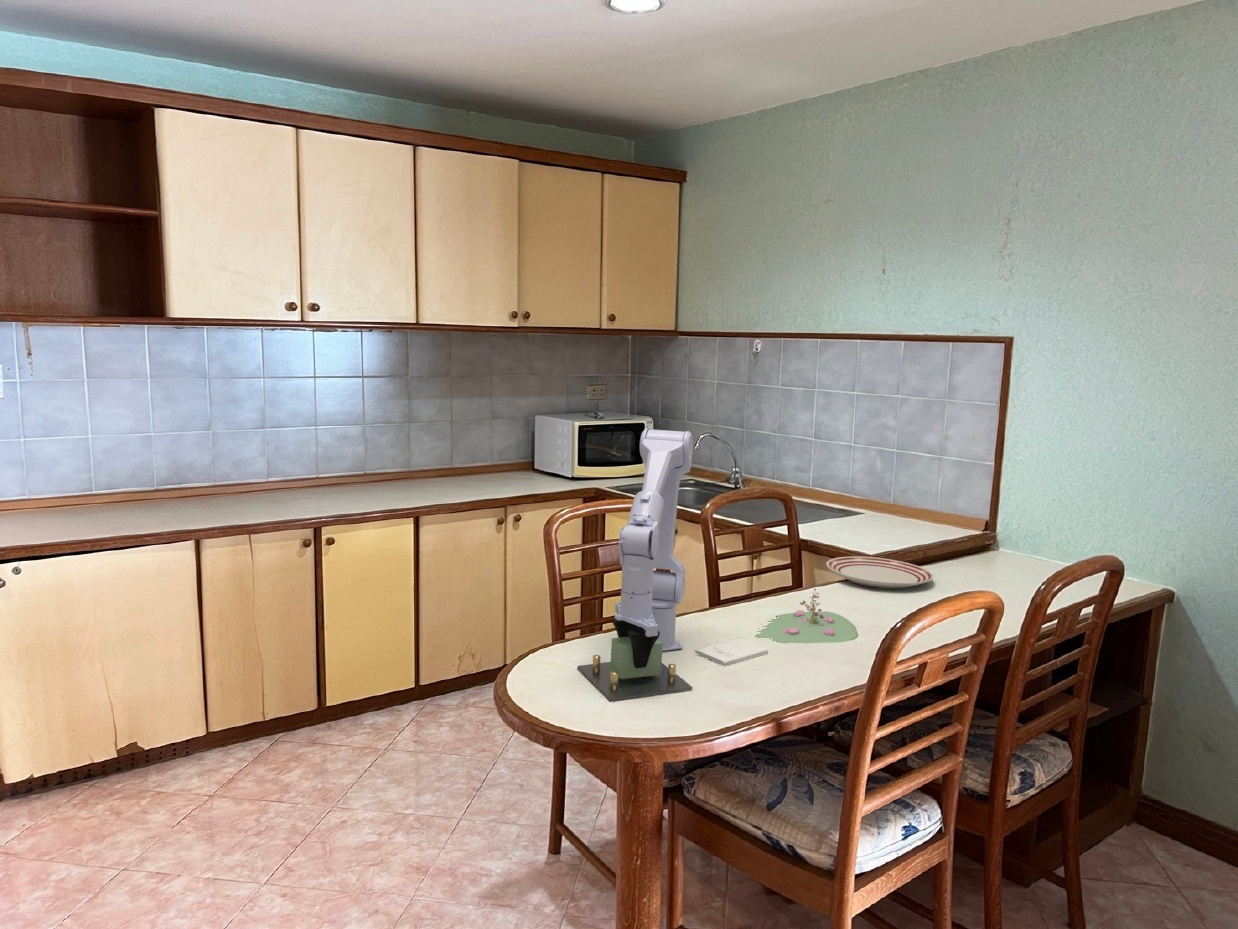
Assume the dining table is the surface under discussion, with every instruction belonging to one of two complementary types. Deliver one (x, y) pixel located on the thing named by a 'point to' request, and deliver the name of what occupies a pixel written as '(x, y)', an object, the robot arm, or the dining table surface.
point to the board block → (624, 659)
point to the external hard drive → (732, 652)
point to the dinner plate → (879, 572)
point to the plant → (809, 627)
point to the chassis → (632, 681)
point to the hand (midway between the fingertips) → (634, 661)
